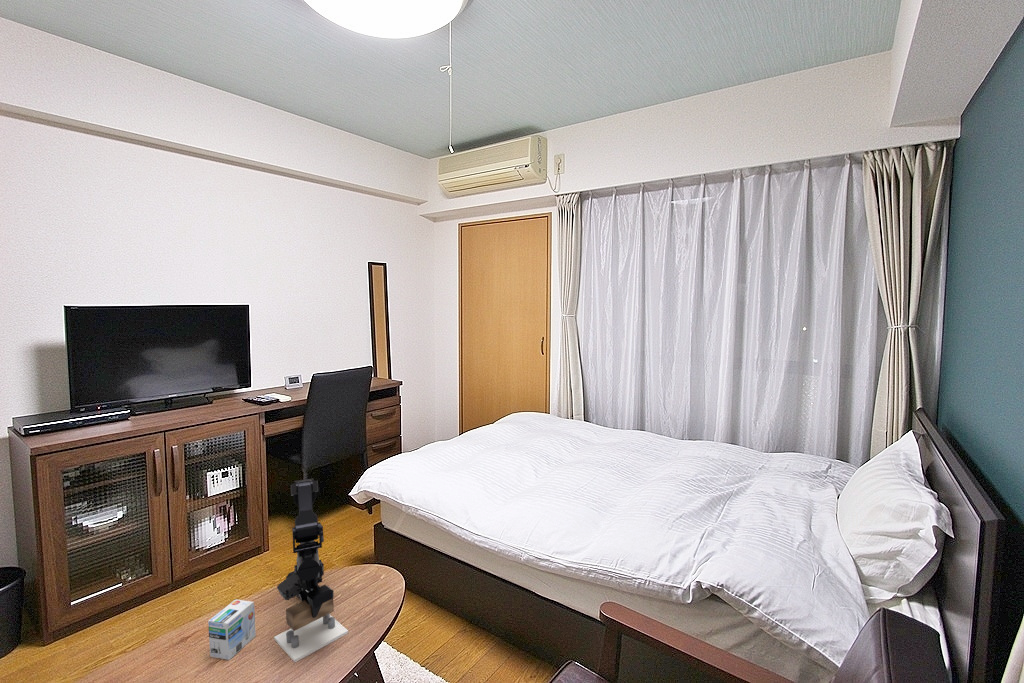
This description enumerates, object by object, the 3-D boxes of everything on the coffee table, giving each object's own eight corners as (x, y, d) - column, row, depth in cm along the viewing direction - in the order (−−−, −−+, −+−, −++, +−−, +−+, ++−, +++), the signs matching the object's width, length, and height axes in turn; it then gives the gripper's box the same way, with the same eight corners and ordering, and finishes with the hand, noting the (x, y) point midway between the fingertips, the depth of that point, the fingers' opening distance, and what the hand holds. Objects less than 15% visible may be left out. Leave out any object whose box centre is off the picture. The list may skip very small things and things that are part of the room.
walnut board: (325, 604, 150) (325, 590, 149) (333, 611, 146) (333, 596, 146) (286, 623, 141) (285, 608, 140) (293, 631, 137) (293, 616, 137)
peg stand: (274, 639, 143) (273, 628, 142) (326, 613, 154) (325, 603, 154) (294, 662, 133) (294, 651, 133) (348, 633, 145) (347, 622, 145)
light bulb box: (229, 661, 134) (227, 623, 133) (208, 657, 136) (206, 621, 135) (257, 635, 145) (255, 600, 144) (237, 632, 146) (235, 598, 145)
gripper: (267, 562, 143) (269, 613, 144) (294, 587, 130) (297, 642, 131) (304, 548, 151) (306, 596, 152) (333, 570, 138) (335, 621, 139)
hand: (310, 613), depth 143 cm, fingers closed on walnut board, 5 cm apart
